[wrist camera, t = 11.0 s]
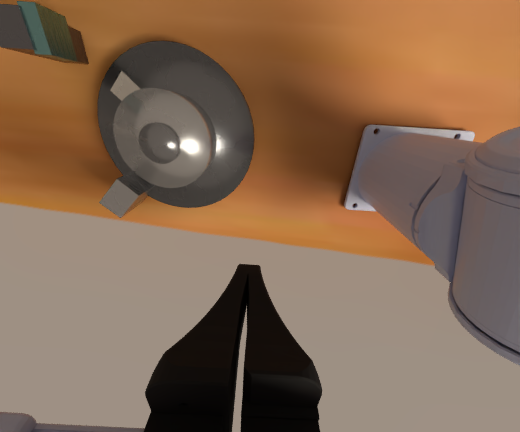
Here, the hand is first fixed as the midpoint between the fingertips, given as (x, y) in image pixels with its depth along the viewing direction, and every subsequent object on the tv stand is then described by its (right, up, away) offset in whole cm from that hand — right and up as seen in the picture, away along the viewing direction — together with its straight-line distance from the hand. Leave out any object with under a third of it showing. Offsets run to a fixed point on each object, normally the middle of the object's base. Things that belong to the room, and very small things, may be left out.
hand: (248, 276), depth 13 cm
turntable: (-6, +11, +6) cm, 14 cm away
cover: (-6, +10, +4) cm, 13 cm away
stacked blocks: (-14, +17, +3) cm, 22 cm away
